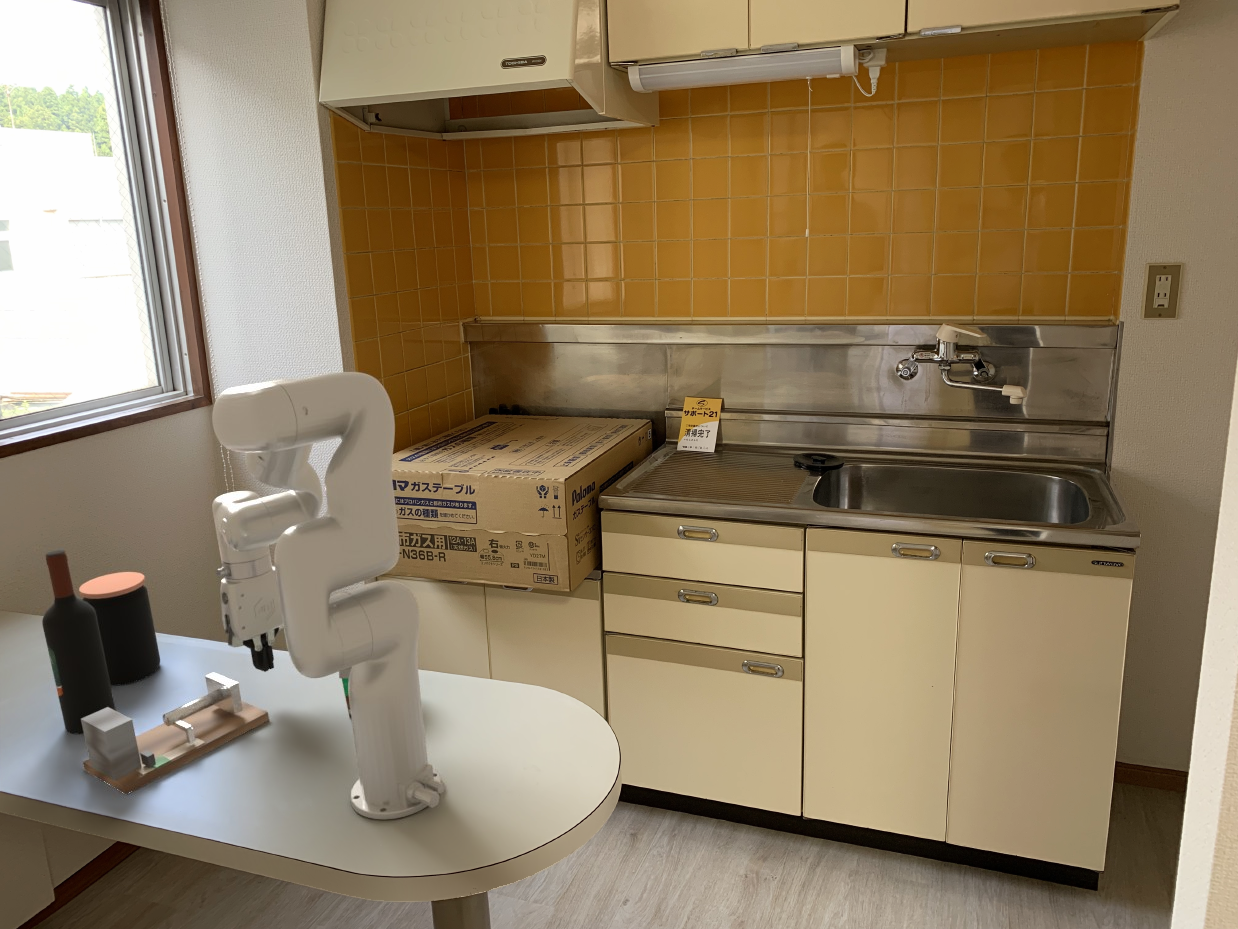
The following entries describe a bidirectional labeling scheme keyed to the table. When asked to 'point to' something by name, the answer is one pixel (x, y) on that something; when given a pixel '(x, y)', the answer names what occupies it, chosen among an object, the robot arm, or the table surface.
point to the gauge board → (157, 743)
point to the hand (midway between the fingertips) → (264, 668)
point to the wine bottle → (75, 649)
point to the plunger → (207, 703)
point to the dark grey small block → (148, 758)
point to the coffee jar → (124, 625)
